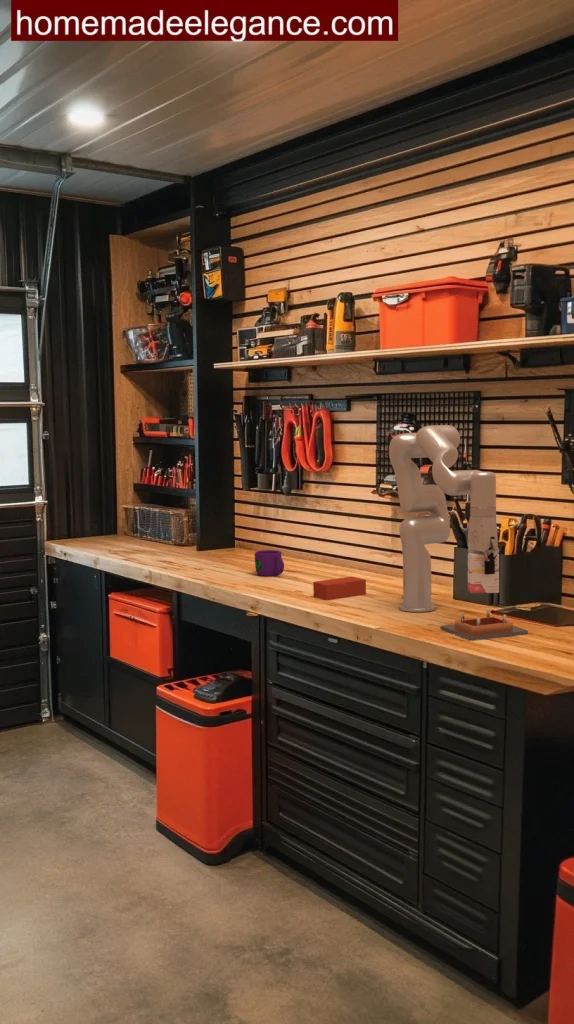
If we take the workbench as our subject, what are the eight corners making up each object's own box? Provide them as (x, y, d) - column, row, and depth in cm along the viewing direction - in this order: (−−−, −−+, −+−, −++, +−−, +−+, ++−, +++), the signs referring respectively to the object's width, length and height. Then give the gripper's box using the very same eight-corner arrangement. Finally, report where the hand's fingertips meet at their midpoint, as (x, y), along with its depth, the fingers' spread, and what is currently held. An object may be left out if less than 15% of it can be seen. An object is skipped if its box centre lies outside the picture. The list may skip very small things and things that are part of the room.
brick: (352, 591, 346) (352, 576, 345) (366, 595, 338) (366, 579, 338) (313, 597, 336) (312, 581, 336) (326, 601, 329) (326, 584, 328)
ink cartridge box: (471, 593, 271) (471, 544, 269) (467, 590, 275) (467, 542, 274) (499, 592, 271) (499, 544, 270) (495, 590, 276) (495, 542, 275)
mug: (250, 574, 390) (249, 551, 389) (272, 571, 396) (271, 549, 395) (272, 579, 376) (271, 556, 375) (294, 576, 382) (294, 553, 381)
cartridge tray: (440, 628, 279) (440, 611, 279) (496, 622, 286) (496, 605, 285) (469, 640, 263) (469, 622, 263) (528, 633, 270) (528, 615, 269)
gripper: (457, 511, 278) (457, 569, 280) (488, 516, 262) (488, 577, 263) (478, 510, 280) (478, 567, 282) (510, 514, 264) (510, 575, 266)
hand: (483, 571), depth 273 cm, fingers closed on ink cartridge box, 6 cm apart
